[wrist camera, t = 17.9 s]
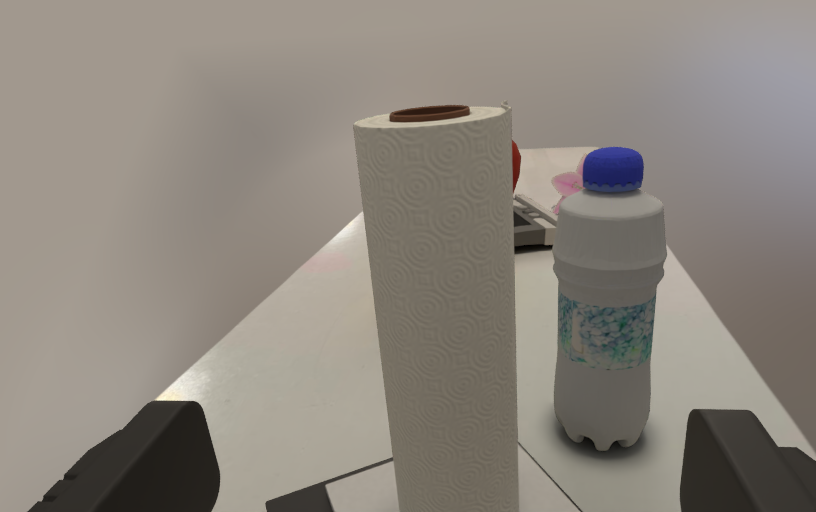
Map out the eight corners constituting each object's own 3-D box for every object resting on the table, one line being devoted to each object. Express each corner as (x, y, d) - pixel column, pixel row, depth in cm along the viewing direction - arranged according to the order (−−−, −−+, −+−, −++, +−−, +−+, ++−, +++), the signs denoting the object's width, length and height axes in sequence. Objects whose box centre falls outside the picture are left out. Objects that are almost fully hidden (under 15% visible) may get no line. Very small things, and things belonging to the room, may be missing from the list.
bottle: (595, 390, 43) (606, 134, 36) (672, 435, 37) (702, 144, 30) (530, 422, 40) (529, 150, 33) (604, 477, 34) (621, 164, 27)
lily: (553, 209, 93) (532, 166, 88) (621, 181, 89) (603, 134, 84) (566, 252, 84) (543, 207, 78) (642, 223, 79) (623, 173, 74)
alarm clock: (570, 223, 71) (450, 230, 69) (566, 256, 73) (449, 264, 70) (522, 194, 87) (424, 199, 85) (520, 221, 89) (424, 227, 86)
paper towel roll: (412, 589, 25) (357, 126, 18) (394, 493, 31) (347, 111, 23) (557, 558, 26) (564, 104, 19) (514, 470, 32) (506, 95, 24)
